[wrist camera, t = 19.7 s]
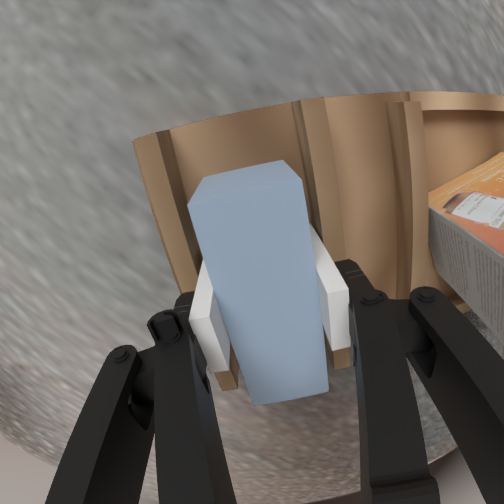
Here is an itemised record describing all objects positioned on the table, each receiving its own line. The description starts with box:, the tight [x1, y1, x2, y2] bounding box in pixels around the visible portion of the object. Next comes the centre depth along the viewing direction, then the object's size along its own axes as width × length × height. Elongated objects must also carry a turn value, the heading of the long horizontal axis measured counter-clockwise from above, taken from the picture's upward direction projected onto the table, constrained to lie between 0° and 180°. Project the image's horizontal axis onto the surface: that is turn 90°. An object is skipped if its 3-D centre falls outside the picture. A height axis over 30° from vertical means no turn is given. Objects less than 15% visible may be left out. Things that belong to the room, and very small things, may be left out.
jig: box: [132, 92, 504, 391], centre depth 16 cm, size 25×15×4 cm, turn 102°
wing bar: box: [187, 160, 329, 406], centre depth 15 cm, size 4×11×5 cm, turn 12°
